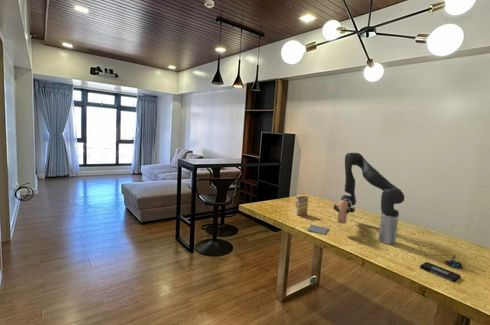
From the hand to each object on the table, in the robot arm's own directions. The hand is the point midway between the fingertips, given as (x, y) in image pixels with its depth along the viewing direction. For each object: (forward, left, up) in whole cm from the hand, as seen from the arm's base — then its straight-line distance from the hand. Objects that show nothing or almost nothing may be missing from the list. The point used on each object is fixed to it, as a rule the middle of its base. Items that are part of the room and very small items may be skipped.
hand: (342, 211), depth 170 cm
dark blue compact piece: (-58, +9, -16) cm, 61 cm away
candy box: (+33, -26, -16) cm, 45 cm away
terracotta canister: (0, -2, -8) cm, 8 cm away
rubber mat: (+14, 0, -16) cm, 21 cm away
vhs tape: (-50, +23, -16) cm, 57 cm away
